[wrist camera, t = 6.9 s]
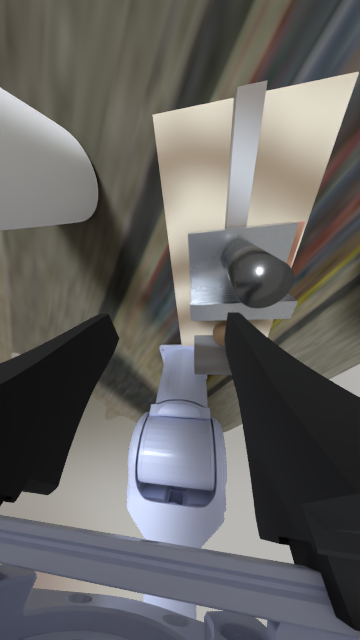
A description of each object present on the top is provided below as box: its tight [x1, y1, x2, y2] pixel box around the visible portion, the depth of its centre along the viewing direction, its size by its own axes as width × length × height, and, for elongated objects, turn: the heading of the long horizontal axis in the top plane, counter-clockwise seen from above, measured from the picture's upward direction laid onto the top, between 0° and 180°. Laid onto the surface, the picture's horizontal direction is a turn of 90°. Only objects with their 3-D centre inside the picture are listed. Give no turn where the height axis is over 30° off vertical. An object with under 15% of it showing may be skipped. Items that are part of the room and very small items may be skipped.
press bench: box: [153, 72, 359, 375], centre depth 14 cm, size 22×12×6 cm, turn 6°
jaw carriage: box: [188, 222, 299, 321], centre depth 11 cm, size 6×8×7 cm
